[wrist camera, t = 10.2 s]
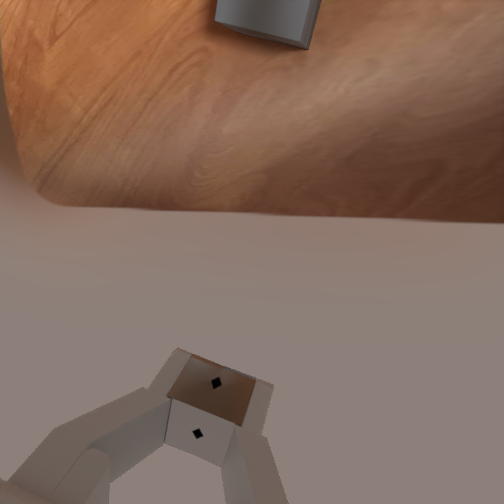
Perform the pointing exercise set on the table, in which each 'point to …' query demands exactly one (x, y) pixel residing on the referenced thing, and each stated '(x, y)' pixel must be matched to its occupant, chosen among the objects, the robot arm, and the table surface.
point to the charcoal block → (271, 19)
